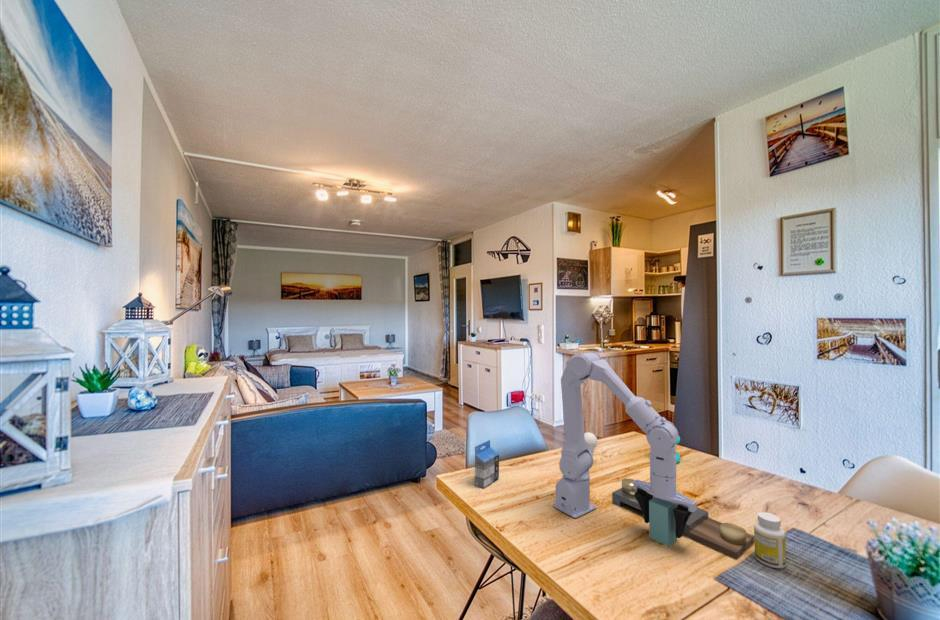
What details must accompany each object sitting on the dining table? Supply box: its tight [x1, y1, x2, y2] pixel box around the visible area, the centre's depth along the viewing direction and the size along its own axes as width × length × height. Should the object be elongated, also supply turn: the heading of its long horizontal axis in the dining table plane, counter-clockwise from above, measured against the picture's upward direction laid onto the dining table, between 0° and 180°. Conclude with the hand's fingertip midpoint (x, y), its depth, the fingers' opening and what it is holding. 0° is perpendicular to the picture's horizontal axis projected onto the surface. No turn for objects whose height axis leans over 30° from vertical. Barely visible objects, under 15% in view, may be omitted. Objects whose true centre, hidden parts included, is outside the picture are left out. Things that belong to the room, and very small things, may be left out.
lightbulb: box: [584, 431, 599, 458], centre depth 138 cm, size 6×6×11 cm
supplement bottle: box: [753, 511, 787, 569], centre depth 83 cm, size 5×5×10 cm
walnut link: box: [683, 517, 754, 560], centre depth 95 cm, size 11×21×4 cm, turn 36°
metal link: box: [611, 478, 709, 532], centre depth 103 cm, size 11×21×5 cm, turn 36°
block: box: [648, 497, 678, 548], centre depth 91 cm, size 4×4×9 cm
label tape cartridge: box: [474, 439, 500, 489], centre depth 121 cm, size 9×4×12 cm, turn 143°
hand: (663, 528), depth 91 cm, fingers open, 7 cm apart
